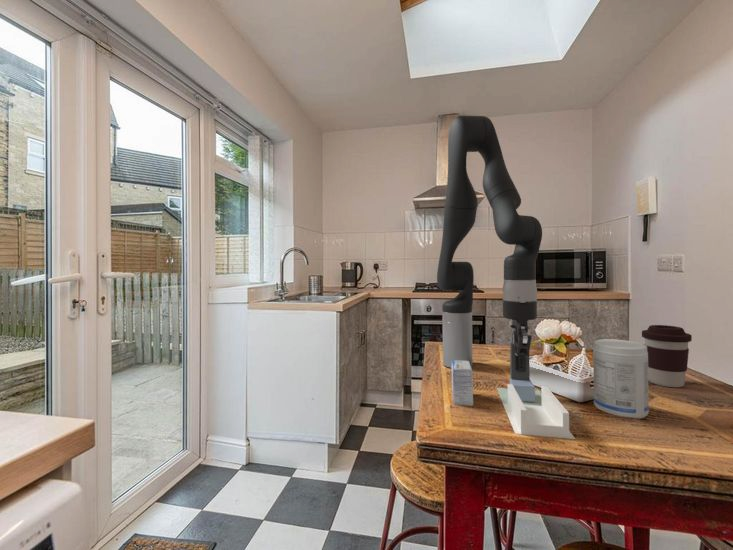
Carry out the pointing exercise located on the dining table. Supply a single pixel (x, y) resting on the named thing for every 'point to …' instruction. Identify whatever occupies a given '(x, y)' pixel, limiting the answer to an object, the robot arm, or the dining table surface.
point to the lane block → (521, 378)
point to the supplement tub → (621, 377)
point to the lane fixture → (536, 413)
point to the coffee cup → (667, 354)
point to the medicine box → (462, 383)
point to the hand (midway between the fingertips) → (519, 370)
